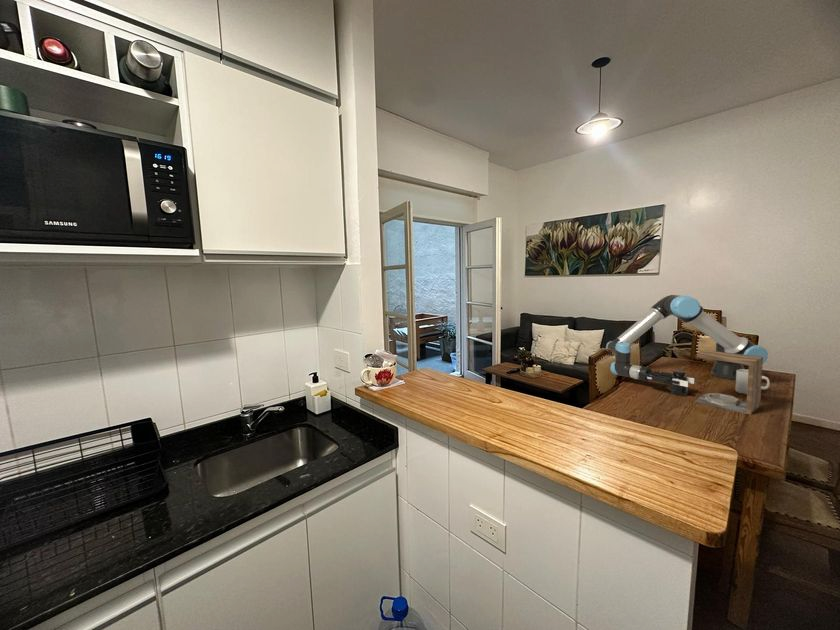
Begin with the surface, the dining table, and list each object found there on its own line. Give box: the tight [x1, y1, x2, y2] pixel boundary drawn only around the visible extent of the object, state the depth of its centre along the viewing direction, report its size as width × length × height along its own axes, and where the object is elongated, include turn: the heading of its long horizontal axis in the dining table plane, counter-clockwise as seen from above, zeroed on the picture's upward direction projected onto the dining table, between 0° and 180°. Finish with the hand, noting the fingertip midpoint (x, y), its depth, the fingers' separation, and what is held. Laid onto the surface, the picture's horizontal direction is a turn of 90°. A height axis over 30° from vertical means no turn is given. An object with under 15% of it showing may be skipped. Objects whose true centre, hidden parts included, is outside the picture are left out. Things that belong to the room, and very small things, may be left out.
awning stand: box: [694, 349, 764, 415], centre depth 152 cm, size 13×20×24 cm, turn 32°
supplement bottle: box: [670, 369, 688, 397], centre depth 168 cm, size 7×7×12 cm
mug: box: [735, 368, 771, 395], centre depth 165 cm, size 12×8×11 cm
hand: (691, 382), depth 164 cm, fingers closed on supplement bottle, 7 cm apart
